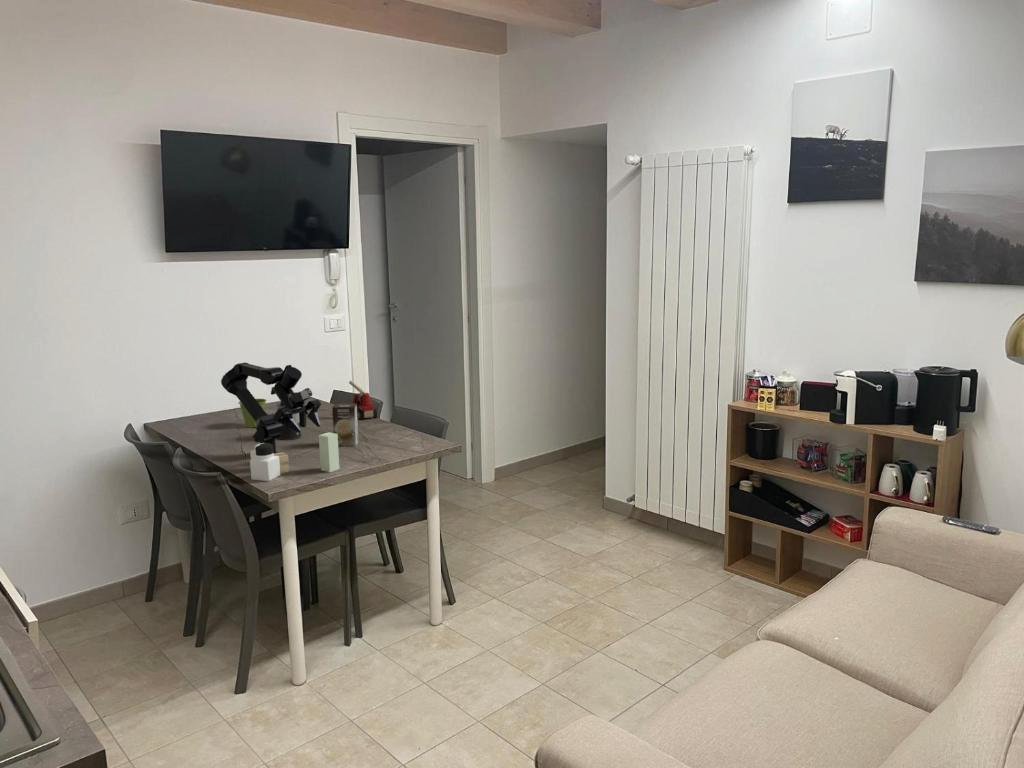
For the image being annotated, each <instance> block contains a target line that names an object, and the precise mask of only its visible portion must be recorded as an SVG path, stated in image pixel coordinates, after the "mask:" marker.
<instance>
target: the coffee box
mask: <svg viewBox="0 0 1024 768" xmlns="http://www.w3.org/2000/svg"><path fill="white" fill-rule="evenodd" d="M331 412H332V429H333V430H332V431H333V432H332V433H335V434H338V447H356V446H357V445H358V443H359V430H358V429H359V428H358V427H359V426H358V418H357V404H353V403H334V404H333V405H332V411H331Z"/></svg>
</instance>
